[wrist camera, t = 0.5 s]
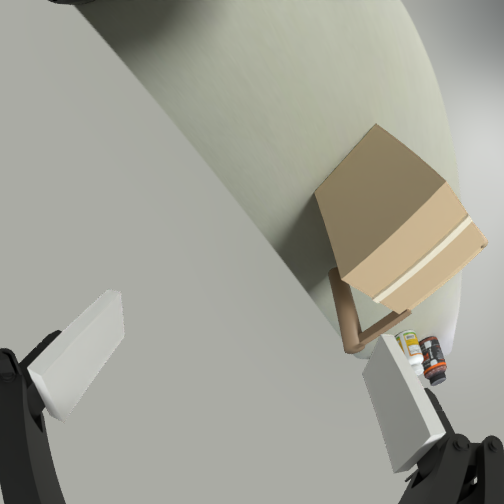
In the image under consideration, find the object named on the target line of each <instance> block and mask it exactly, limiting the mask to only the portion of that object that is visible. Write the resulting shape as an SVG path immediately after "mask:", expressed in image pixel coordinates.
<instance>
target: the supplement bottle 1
mask: <svg viewBox="0 0 504 504" xmlns="http://www.w3.org/2000/svg"><path fill="white" fill-rule="evenodd" d="M395 339H396V341H397V342H398V344H399V346H400V347H401V349H402V351H403V353H404V354H405V356H406V358H407V359H408V361H409V363H410V365H411V366H412V368H413V370H414V372H415V374H416V375H417V376H419V375H420V374H422V373H423V372H424V369H423V366H422V364H421V363H422V362H423V355H422V352H421V349H420V346H419V343H418V340H417V337H416V334H415V332H414V331H413V330H407V331H403V332H401V333H400V334H398V335H397V336H396V337H395Z"/></svg>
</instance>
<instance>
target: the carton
mask: <svg viewBox="0 0 504 504" xmlns="http://www.w3.org/2000/svg"><path fill="white" fill-rule="evenodd" d="M314 193H315V196H316V199H317V202H318V205H319V208H320V211H321V214H322V217H323V220H324V223H325V227H326V230H327V233H328V236H329V239H330V243H331V246H332V249H333V253H334V256H335V259H336V263H337V266H338V270H339V274H340V277H341V280H343V281H344V282H346V283H348V284H350V285H351V286H353V287H355V288H356V289H358V290H360V291H361V292H363V293H365V294H367V295H368V296H370V297H372V300H373V301H375V302H376V303H379V302H380V303H382V304H383V305H385V306H387V307H388V308H390V309H392V310H393V311H395V312H397V313H398V314H401V313H402V312H403V311H405V310H406V309H407V308H409V307H410V306H411V305H413V304H414V303H415V302H417V301H418V300H419V299H421V298H422V297H423V296H424V295H426V294H427V293H428V292H429V291H431V290H432V289H433V288H434V287H436V286H437V285H438V284H439V283H441V282H442V281H443V280H444V279H445V278H447V277H448V276H449V275H450V274H451V273H452V272H453V271H455V270H456V269H457V268H458V267H459V266H460V265H461V264H463V263H464V262H465V261H466V260H467V259H468V258H469V257H470V256H471V255H472V254H473V253H474V252H475V251H477V250H478V249H479V248H480V247H481V246H482V245H483V244H484V241H483V239H482V237H481V236H480V234H479V232H478V230H477V228H476V227H475V225H474V223H473V222H472V219H471V217H470V216H469V215H468V213H467V212H466V210H465V208H464V207H463V205H462V204H461V202H460V201H459V199H458V198H457V196H456V195H455V193H454V192H453V190H452V189H451V187H450V186H449V184H448V183H447V182H446V181H445V180H444V179H443V178H442V177H441V176H440V175H439V174H438V173H437V172H436V171H435V170H434V169H432V168H431V167H430V166H429V165H428V164H427V163H426V162H424V161H423V160H422V159H421V158H420V157H419V156H417V155H416V154H415V153H414V152H413V151H411V150H410V149H409V148H408V147H406V146H405V145H404V144H403V143H401V142H400V141H399V140H398V139H396V138H395V137H394V136H392V135H391V134H390V133H388V132H387V131H386V130H384V129H383V128H381V127H380V126H379V125H377V124H375V125H374V126H373V128H372V129H371V130H370V131H369V132H368V133H367V134H366V135H365V136H364V138H363V139H362V140H361V141H360V142H359V143H358V144H357V145H356V146H355V148H354V149H353V150H352V151H351V152H350V153H349V154H348V155H347V156H346V158H345V159H344V160H343V161H342V162H341V163H340V164H339V165H338V166H337V168H336V169H335V170H334V171H333V172H332V173H331V174H330V175H329V176H328V177H327V179H326V180H325V181H324V182H323V183H322V184H321V185H320V186H319V187H318V189H317V190H316V191H315V192H314Z"/></svg>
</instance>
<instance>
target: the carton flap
mask: <svg viewBox="0 0 504 504" xmlns="http://www.w3.org/2000/svg"><path fill="white" fill-rule="evenodd" d="M472 222H473V221H472ZM474 225H475V224H474ZM475 227H476V228H477V230H478V232H479V234H480V236H481V237H482V239H483V241H484V244H483V245H482V246H481V247H480V248H479V249H478V250H477V251H475V252H474V253H473V254H472V255H471V256H470V257H469V258H468V259H467V260H466V261H465V262H464V263H463V264H461V265H460V266H459V267H458V268H457V269H456V270H455V271H453V272H452V273H451V274H450V275H449V276H448V277H447V278H445V279H444V280H443V281H442V282H441V283H439V284H438V285H437V286H436V287H434V288H433V289H432V290H431V291H429V292H428V293H427V294H426V295H424V296H423V297H422V298H421V299H419V300H418V301H417V302H415V303H414V304H413V305H411V306H410V307H409V308H407V309H406V310H405V311H403V312H402V313H401V314H398V313H397V312H395V311H392V312H391V313H390V314H388V315H387V316H385V317H384V318H383V319H381V320H380V321H378V322H377V323H375V324H374V325H372V326H371V327H370V328H368V329H367V330H365V331H364V332H362V330H361V326H360V322H359V319H358V315H357V311H356V307H355V304H354V300H353V296H352V293H351V289H350V286H349V284H348V283H346V282H344V281H343V280H341V277H340V274H339V270H338V267H335V268H332V269H331V270H330V271H329V273H328V276H329V280H330V284H331V288H332V293H333V297H334V302H335V306H336V311H337V316H338V321H339V326H340V331H341V336H342V341H343V346H344V351H345V353H348V354H354V353H357V352H360V351H362V350H363V349H364V348H365V345H366V344H367V343H369V342H370V341H372V340H374V339H375V338H377V337H378V336H380V334H383V333H384V332H386V331H387V330H389V329H390V328H392V327H393V326H395V325H396V324H398V323H399V322H400V321H402V320H403V319H405V318H406V317H408V316H409V315H410V314H412V313H411V311H410V310H412V309H413V308H414V307H416V306H417V305H418V304H420V303H421V302H422V301H424V300H425V299H426V298H428V297H429V296H430V295H431V294H433V293H434V292H435V291H436V290H438V289H439V288H440V287H441V286H442V285H444V284H445V283H446V282H447V281H448V280H450V279H451V278H452V277H453V276H454V275H456V274H457V273H458V272H459V271H460V270H461V269H462V268H463V267H465V266H466V265H467V264H468V263H469V262H470V261H471V260H472V259H473V258H474V257H475V256H476V255H478V254H479V253H480V252H481V251H482V250H483V249H484V248H485V247H486V246H487V244H488V240H487V239H486V237H485V236H484V235H483V234H482V232H481V231H480V230H479V229H478V227H477V226H476V225H475Z"/></svg>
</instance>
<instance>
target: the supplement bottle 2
mask: <svg viewBox="0 0 504 504" xmlns="http://www.w3.org/2000/svg"><path fill="white" fill-rule="evenodd" d="M419 346H420V349H421V352H422V355H423V362H422V363H421V364H422V366H423V369H424V372H423V373H424V376H425V378H427V379H429V380H430V384H431V386H435V385H437V384H440V383H442V382H443V381H445V380H446V376H445V373H444V372H445V370H446V368H447V366H446V363H445V359H444V356H443V353H442V351H441V348H440V345H439V342H438V339H437V338H436V337H429V338H426V339H424V340H422V341H421V342H420V343H419Z"/></svg>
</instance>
